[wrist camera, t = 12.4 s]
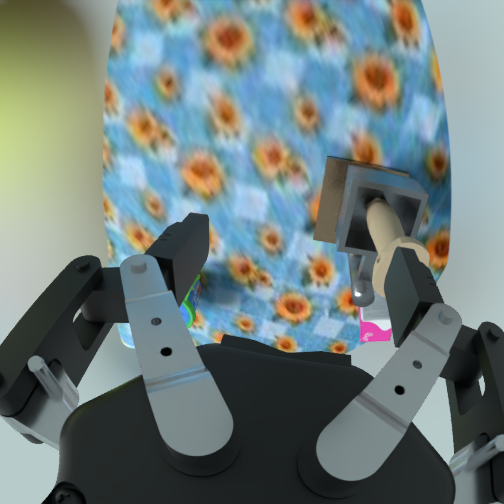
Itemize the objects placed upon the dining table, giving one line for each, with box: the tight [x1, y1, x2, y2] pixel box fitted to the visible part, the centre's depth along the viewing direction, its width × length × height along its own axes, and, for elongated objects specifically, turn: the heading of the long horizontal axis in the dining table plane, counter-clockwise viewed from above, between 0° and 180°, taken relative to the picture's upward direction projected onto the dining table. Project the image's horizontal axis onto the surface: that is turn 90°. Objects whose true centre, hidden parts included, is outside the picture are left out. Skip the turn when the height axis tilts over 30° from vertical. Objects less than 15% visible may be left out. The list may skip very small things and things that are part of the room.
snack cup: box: [179, 274, 201, 329], centre depth 62 cm, size 16×10×10 cm
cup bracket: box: [313, 156, 429, 307], centre depth 42 cm, size 17×14×18 cm
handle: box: [366, 196, 430, 298], centre depth 32 cm, size 5×6×15 cm
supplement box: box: [359, 289, 392, 342], centre depth 54 cm, size 6×6×12 cm
